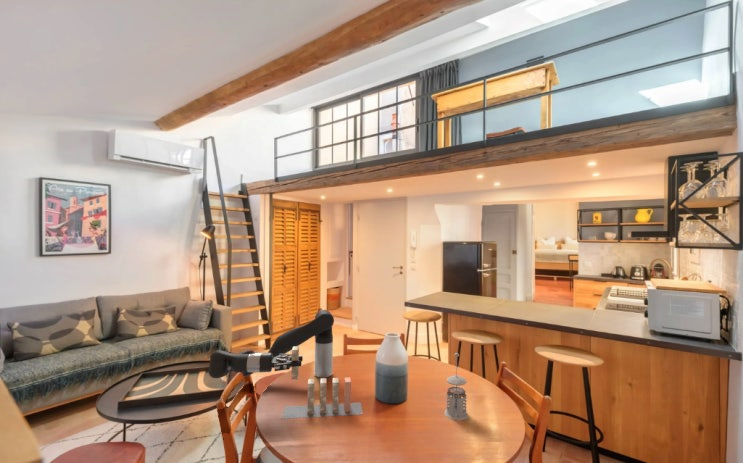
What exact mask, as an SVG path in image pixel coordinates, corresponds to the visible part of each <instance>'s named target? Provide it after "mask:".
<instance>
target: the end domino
mask: <svg viewBox="0 0 743 463" xmlns="http://www.w3.org/2000/svg"><path fill="white" fill-rule="evenodd" d="M343 382H344V385H343V386H344V392H343V393H344V395H343V400H344V401H343V402H344V409H345V412H351V403H352V380H351V377H350V376H349V377H344V381H343Z"/></svg>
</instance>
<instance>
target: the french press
mask: <svg viewBox="0 0 743 463" xmlns="http://www.w3.org/2000/svg"><path fill="white" fill-rule="evenodd" d="M454 357H456V358H455V359H456V363H455V364H456V367H455V369H456V373H455V374H456V375H451V376H449V377H447V378H446V382H447V383H448V384H449V385H452V386H450V387H448V388H447V392H446V409H445V411H443V412H444V415H445V416H446V418H448V419H450V420H453V421H465V420H467V419H469V413H468V412H467V394H466V390H465V389H464V388H463V387H459V386H465V385H466V384H467V379H465V378H464V377H462V376H459V375H458V357H460V354H459V353H458V352H454Z"/></svg>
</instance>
